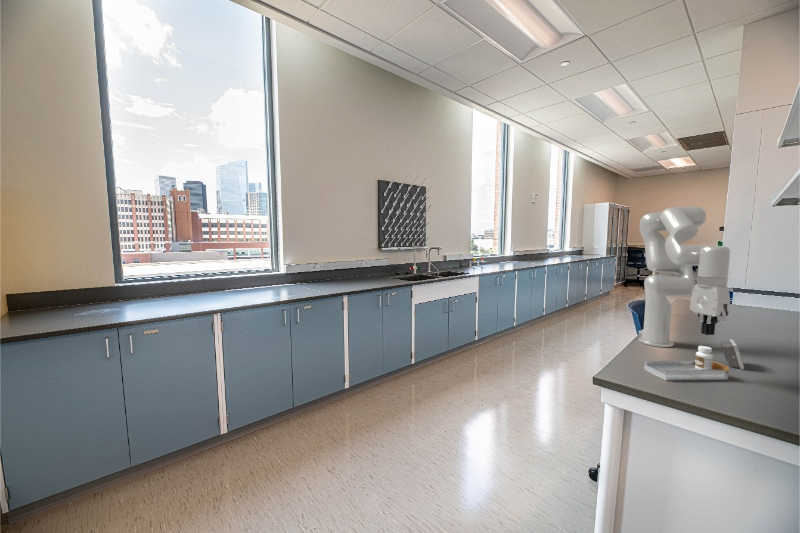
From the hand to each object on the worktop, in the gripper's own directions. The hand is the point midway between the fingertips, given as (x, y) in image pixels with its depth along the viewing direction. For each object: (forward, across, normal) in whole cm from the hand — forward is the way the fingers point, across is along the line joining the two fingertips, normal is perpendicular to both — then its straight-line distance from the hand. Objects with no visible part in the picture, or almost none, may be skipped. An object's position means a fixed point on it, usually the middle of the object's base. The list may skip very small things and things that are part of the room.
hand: (707, 334), depth 113 cm
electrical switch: (+15, -8, +19) cm, 26 cm away
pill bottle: (+13, 0, 0) cm, 13 cm away
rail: (+15, 0, -7) cm, 16 cm away
